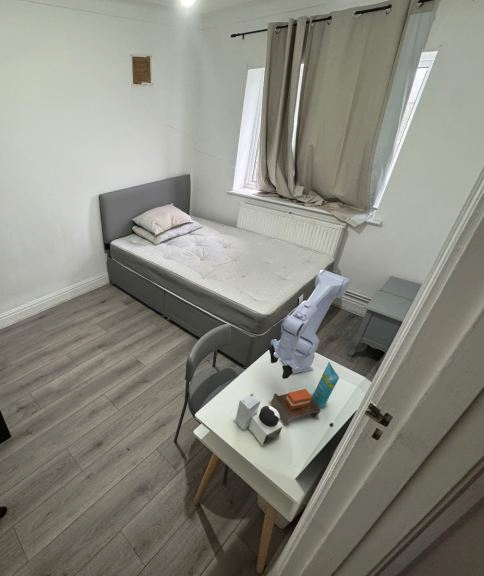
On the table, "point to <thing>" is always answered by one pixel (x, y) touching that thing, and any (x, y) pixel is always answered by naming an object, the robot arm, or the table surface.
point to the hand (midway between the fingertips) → (279, 369)
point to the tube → (325, 386)
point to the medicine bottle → (266, 425)
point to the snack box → (298, 399)
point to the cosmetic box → (247, 410)
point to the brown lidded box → (288, 413)
